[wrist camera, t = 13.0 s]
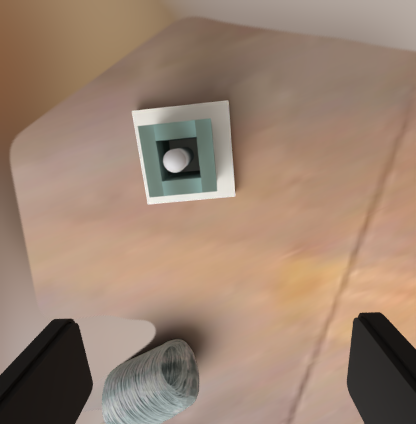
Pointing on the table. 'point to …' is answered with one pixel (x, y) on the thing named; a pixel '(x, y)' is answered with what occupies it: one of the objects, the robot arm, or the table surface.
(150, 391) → the spool
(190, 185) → the bead
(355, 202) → the table surface
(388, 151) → the table surface
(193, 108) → the white peg stand
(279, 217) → the table surface
